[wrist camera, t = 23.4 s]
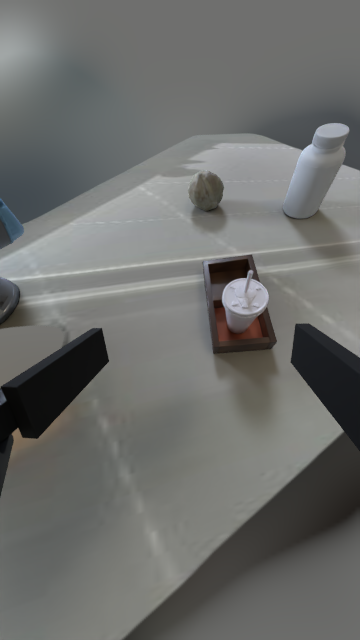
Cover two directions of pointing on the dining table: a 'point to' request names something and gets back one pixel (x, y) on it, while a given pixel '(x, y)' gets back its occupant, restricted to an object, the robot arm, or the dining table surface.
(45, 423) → the robot arm
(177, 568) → the dining table surface
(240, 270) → the tray
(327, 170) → the pill bottle
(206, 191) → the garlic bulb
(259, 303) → the smoothie
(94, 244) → the dining table surface
